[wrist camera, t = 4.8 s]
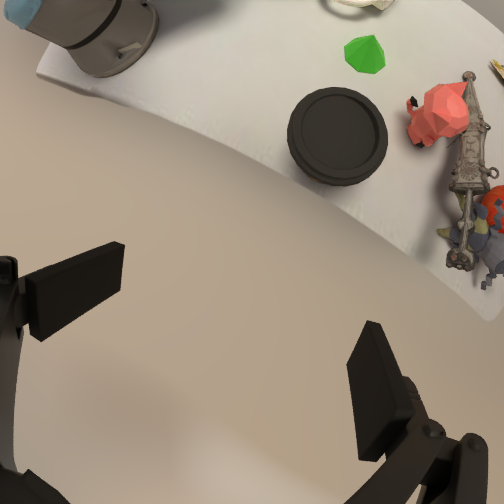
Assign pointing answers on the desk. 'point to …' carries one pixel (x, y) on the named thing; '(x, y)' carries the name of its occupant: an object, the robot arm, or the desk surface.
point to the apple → (489, 200)
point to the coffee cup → (337, 136)
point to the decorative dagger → (469, 176)
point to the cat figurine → (438, 114)
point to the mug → (366, 3)
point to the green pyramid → (365, 54)
